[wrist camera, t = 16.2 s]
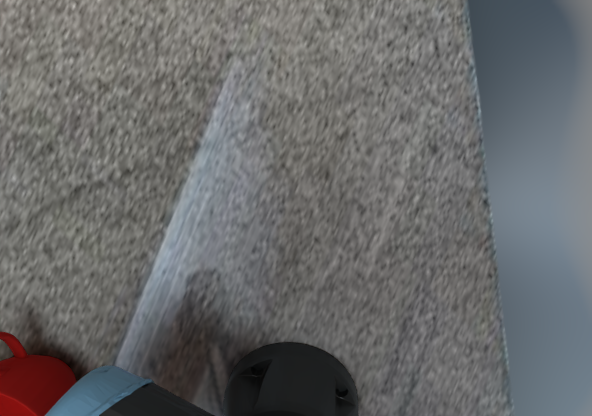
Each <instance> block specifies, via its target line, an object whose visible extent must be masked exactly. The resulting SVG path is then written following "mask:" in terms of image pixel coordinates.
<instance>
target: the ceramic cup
mask: <svg viewBox="0 0 592 416" xmlns="http://www.w3.org/2000/svg"><path fill="white" fill-rule="evenodd" d="M0 339H1V340H3V341H4V342H5V343H6V344H7V345H8V346H9V348H10V349H11V351H12V352H13V354H14V356H15V357H12V358H9V359H5V360H2V361H0V416H45V415H46V414H47V413H48V411H49V410H50V409H51V408H52V407H53V406H54V405H55V404H56V403H57V401H58V400H59V399H60V398H61V397H62V396H63V395H64V394H65V393H66V392H67V391H68V390H69V389H70V388H71V387H72V386H73V385H74V384H75V383H76V382H77V381H76V378H75V375H74V373H73V371H72V370H71V369H70V367H69V366H68V365H67V364H65V363H64V362H63V361H61V360H59V359H57V358H55V357H51V356H45V355H44V356H41V355H27V353H26V351H25V349H24V348H23V346H22V345H21V343H20V342H19V341H18V339H17V338H16V337H15V336H13V335H12V334H9V333H6V332H0Z"/></svg>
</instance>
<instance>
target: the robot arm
mask: <svg viewBox="0 0 592 416" xmlns="http://www.w3.org/2000/svg"><path fill="white" fill-rule="evenodd" d="M223 412H224V416H358V396H357V391H356V387H355V384H354V382H353V379H352V378H351V376H350V374H349V373H348V371H347V370H346V369H345V368H344V366H343V365H342V364H341V363H340V362H339V361H337V360H336V359H335V358H334V357H332V356H331V355H329V354H327V353H326V352H324V351H322V350H320V349H317V348H315V347H312V346H308V345H304V344H298V343H277V344H271V345H267V346H264V347H261V348H259V349H257V350H255V351H253V352H251V353H250V354H248V355H247V356H246V357H244V358H243V359H242V360H241V361H240V362H239V363H238V364H237V366H236V367H235V368H234V370H233V372H232V374H231V376H230V378H229V381H228V384H227V387H226V391H225V394H224V401H223ZM45 416H214V415H213V414H211V413H209V412H207V411H205V410H203V409H201V408H199V407H197V406H195V405H193V404H191V403H189V402H187V401H185V400H184V399H182V398H180V397H178V396H176V395H174V394H173V393H171V392H169V391H167V390H165V389H163V388H162V387H160V386H158V385H156V384H154V381H152V380H151V379H144V378H141V377H139V376H137V375H134V374H132V373H130V372H128V371H125V370H123V369H121V368H119V367H116V366H101V367H98V368H96V369H94V370H92V371H91V372H89V373H88V374H86V375H85V376H84V377H82V378H81V379H80V380H79V381H78V382H76V383H75V384H74V385H73V386H72V387H71V388H70V389H69V390H68V391H67V392H66V393H65V394H64V395H63V396H62V397H61V398H60V399H59V400H58V401H57V403H56V404H55V405H54V406H53V407H52V408H51V409H50V410H49V411H48V413H47V414H46V415H45Z"/></svg>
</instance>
